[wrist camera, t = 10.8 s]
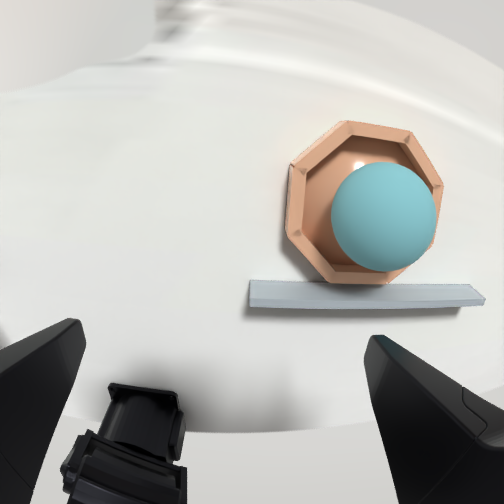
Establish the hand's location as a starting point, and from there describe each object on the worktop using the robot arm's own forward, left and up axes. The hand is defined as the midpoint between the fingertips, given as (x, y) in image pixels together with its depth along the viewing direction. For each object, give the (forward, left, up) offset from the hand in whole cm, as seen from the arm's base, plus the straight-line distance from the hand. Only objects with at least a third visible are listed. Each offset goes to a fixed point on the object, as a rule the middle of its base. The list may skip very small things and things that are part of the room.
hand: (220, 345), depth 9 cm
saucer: (+8, +2, -12) cm, 15 cm away
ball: (+8, +2, -9) cm, 12 cm away
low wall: (+10, -4, -12) cm, 16 cm away
